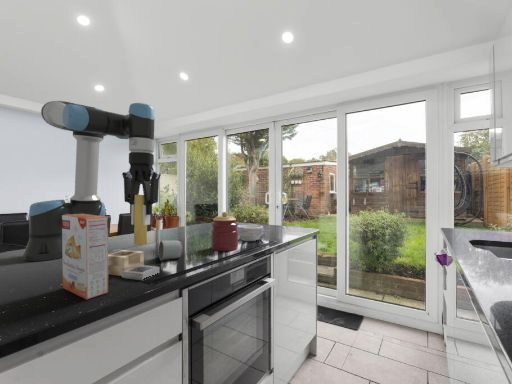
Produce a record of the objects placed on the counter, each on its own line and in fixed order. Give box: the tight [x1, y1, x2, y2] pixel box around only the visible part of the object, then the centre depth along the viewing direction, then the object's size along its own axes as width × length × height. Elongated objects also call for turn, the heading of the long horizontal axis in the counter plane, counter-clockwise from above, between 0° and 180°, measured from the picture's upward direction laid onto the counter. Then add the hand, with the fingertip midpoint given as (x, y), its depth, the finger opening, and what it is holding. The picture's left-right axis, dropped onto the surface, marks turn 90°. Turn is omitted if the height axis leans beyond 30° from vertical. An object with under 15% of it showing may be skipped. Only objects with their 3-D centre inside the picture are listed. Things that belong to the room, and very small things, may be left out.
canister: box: [210, 211, 239, 252], centre depth 129 cm, size 13×13×18 cm
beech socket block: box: [108, 249, 145, 277], centre depth 92 cm, size 9×9×6 cm
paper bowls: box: [237, 224, 264, 242], centre depth 152 cm, size 15×15×8 cm
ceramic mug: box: [158, 239, 184, 261], centre depth 111 cm, size 11×8×8 cm
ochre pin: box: [133, 194, 148, 246], centre depth 88 cm, size 4×4×16 cm
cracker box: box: [62, 214, 109, 300], centre depth 73 cm, size 14×6×21 cm, turn 56°
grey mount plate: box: [121, 264, 160, 281], centre depth 88 cm, size 8×8×2 cm
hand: (140, 224), depth 88 cm, fingers closed on ochre pin, 4 cm apart
